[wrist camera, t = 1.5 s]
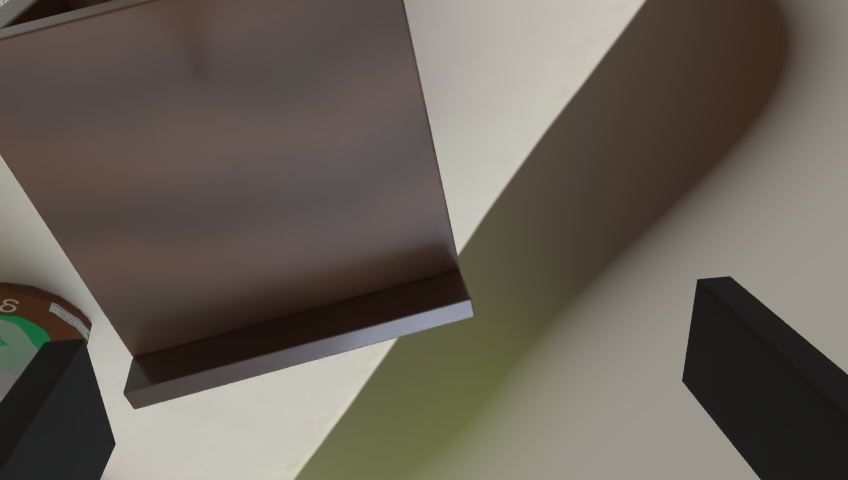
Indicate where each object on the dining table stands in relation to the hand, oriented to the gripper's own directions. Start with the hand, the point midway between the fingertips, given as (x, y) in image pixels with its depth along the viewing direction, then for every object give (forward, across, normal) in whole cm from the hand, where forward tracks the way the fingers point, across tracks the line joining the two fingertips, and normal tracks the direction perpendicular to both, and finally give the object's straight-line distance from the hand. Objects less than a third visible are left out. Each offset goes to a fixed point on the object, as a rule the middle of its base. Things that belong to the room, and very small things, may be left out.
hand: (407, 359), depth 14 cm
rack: (+24, -5, +3) cm, 25 cm away
